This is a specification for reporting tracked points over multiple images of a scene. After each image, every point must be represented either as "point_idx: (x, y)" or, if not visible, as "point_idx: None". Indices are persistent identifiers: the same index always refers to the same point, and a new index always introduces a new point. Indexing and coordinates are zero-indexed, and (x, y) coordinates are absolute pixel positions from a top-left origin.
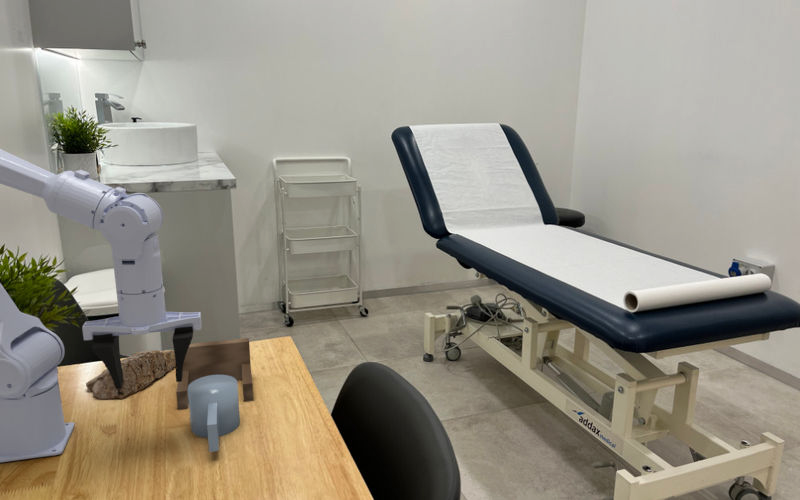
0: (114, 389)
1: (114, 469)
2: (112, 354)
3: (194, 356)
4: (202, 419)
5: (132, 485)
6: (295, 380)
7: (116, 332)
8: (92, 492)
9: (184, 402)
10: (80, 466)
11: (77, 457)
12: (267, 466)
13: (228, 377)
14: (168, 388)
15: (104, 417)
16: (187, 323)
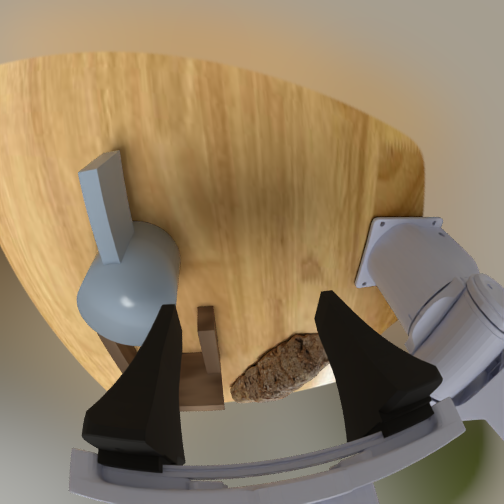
0: (307, 345)
1: (297, 154)
2: (382, 369)
3: (198, 391)
4: (143, 244)
5: (261, 96)
6: (69, 339)
7: (373, 445)
8: (325, 98)
9: (202, 314)
10: (348, 179)
11: (353, 206)
12: (38, 125)
13: (105, 333)
14: (236, 350)
15: (317, 298)
16: (107, 484)
